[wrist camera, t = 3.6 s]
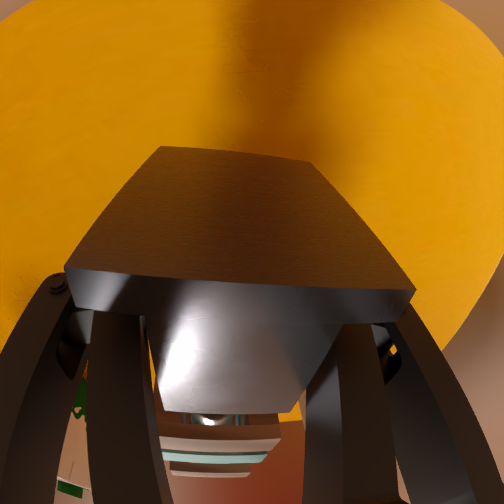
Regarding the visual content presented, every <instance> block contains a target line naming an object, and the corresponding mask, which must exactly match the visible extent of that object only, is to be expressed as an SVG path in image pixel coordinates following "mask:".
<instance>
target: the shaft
mask: <svg viewBox="0 0 504 504" xmlns="http://www.w3.org/2000/svg"><path fill="white" fill-rule="evenodd" d="M64 271H65V274H66V278H67V281H68V284H69V288H70V291H71V294H72V297H73V300H74V303H75V306H76V307H80V308H86V309H93V310H100V311H107V312H114V313H122V314H130V315H139V316H145V323H146V328H147V334H148V340H149V345H150V350H151V355H152V360H153V364H154V369H155V374H156V378H157V382H158V386H159V390H160V394H161V398H162V402H163V406H164V410H165V411H175V412H188V413H191V424H198V425H231V423H232V419H233V416H234V414H271V413H288V412H290V411H291V410H292V408H293V407H294V405H295V404H296V402H297V401H298V399H299V398H300V396H301V395H302V393H303V392H304V390H305V389H306V387H307V386H308V384H309V382H310V381H311V379H312V378H313V376H314V374H315V373H316V371H317V370H318V368H319V366H320V365H321V363H322V361H323V360H324V358H325V356H326V354H327V353H328V351H329V349H330V347H331V346H332V344H333V342H334V340H335V339H336V337H337V335H338V333H339V331H340V330H341V328H342V326H343V324H365V323H385V322H397V321H398V319H399V318H400V316H401V315H402V313H403V312H404V310H405V308H406V307H407V305H408V303H409V302H410V300H411V298H412V297H413V295H414V293H415V292H416V290H417V289H416V288H415V286H414V285H413V284H412V282H411V281H410V279H409V278H408V277H407V275H406V274H405V273H404V271H403V270H402V269H401V267H400V266H399V265H398V263H397V262H396V261H395V259H394V258H393V257H392V255H391V254H390V253H389V252H388V250H387V249H386V248H385V246H384V245H383V244H382V243H381V241H380V240H379V239H378V238H377V237H376V235H375V234H374V233H373V232H372V230H371V229H370V228H369V227H368V226H367V224H366V223H365V222H364V221H363V220H362V219H361V217H360V216H359V215H358V214H357V213H356V212H355V210H354V209H353V208H352V207H351V206H350V205H349V204H348V202H347V201H346V200H345V199H344V198H343V197H342V196H341V195H340V194H339V192H338V191H337V190H336V189H335V188H334V187H333V186H332V185H331V184H330V183H329V182H328V181H327V180H326V178H325V177H324V176H323V175H322V174H321V173H320V172H319V171H318V170H317V169H316V168H315V167H314V166H313V165H312V164H311V163H310V162H304V161H299V160H292V159H286V158H280V157H273V156H266V155H258V154H251V153H242V152H233V151H224V150H213V149H201V148H188V147H170V146H160V147H159V148H158V149H157V150H156V151H155V152H154V153H153V154H152V155H151V156H150V157H149V158H148V159H147V160H146V161H145V163H144V164H143V165H142V166H141V167H140V168H139V169H138V170H137V171H136V172H135V174H134V175H133V176H132V177H131V178H130V179H129V180H128V182H127V183H126V184H125V185H124V186H123V187H122V189H121V190H120V191H119V192H118V193H117V195H116V196H115V197H114V198H113V199H112V201H111V202H110V203H109V204H108V206H107V207H106V208H105V209H104V211H103V212H102V213H101V215H100V216H99V217H98V218H97V220H96V221H95V222H94V224H93V225H92V226H91V228H90V229H89V230H88V232H87V233H86V235H85V236H84V237H83V239H82V240H81V242H80V243H79V244H78V246H77V247H76V249H75V250H74V252H73V253H72V255H71V256H70V258H69V259H68V261H67V262H66V264H65V265H64Z"/></svg>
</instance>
